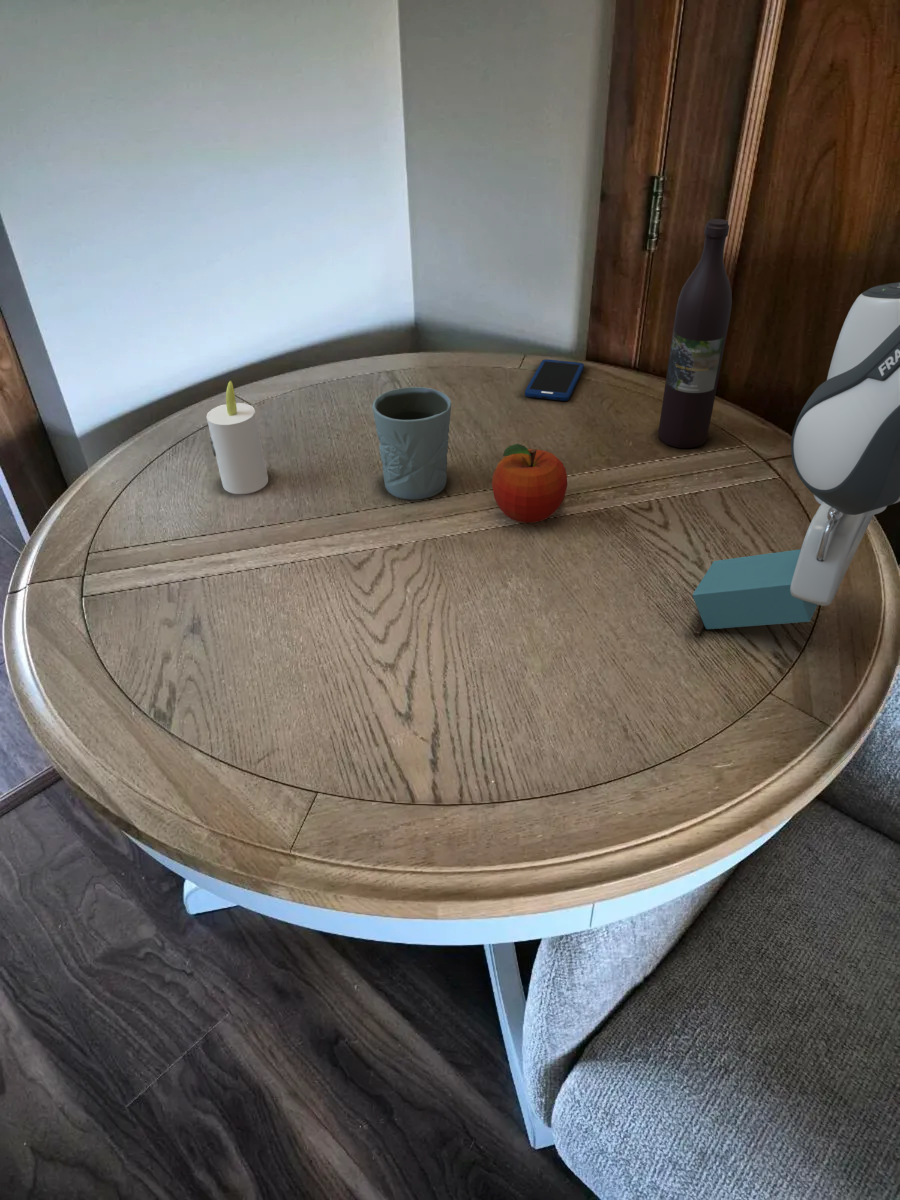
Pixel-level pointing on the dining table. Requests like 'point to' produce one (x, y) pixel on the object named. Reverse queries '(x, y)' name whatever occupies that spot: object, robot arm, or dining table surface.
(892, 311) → the robot arm
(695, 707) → the dining table surface
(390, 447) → the blue grey cup
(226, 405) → the candle
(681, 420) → the wine bottle
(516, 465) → the fruit
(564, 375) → the cell phone
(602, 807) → the dining table surface
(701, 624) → the stop strip
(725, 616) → the teal labeled box
